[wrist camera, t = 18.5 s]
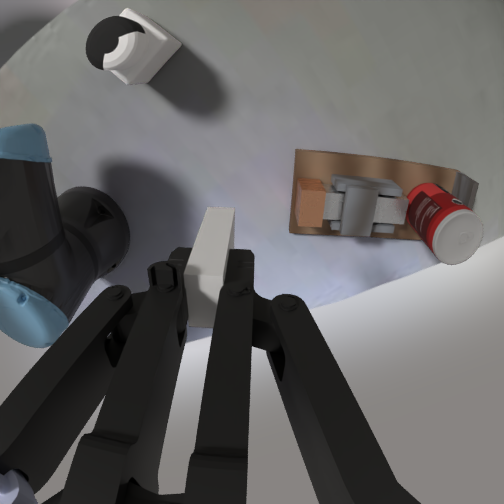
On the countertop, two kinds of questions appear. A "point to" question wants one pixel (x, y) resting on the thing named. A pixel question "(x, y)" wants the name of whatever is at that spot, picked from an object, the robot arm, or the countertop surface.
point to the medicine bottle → (130, 46)
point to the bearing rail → (364, 168)
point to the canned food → (444, 223)
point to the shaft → (340, 204)
